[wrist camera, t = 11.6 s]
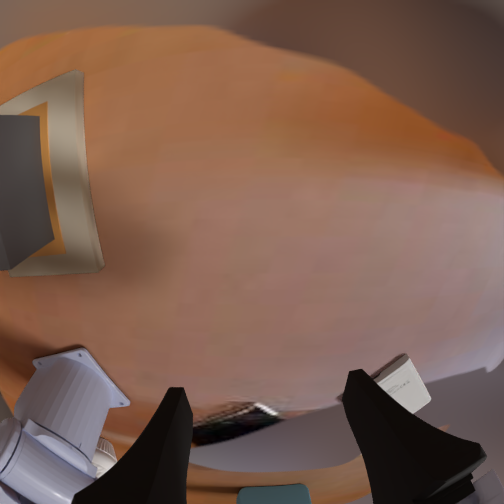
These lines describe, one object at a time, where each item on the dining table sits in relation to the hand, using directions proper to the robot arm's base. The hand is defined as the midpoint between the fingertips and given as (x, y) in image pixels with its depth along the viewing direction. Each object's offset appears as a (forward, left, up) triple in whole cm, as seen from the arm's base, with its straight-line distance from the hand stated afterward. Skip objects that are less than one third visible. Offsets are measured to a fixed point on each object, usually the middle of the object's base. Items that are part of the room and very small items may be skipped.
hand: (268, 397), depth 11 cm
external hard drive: (+10, -20, -10) cm, 25 cm away
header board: (-12, +14, -9) cm, 21 cm away
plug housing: (-12, +14, -8) cm, 20 cm away
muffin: (-28, -16, -10) cm, 34 cm away
